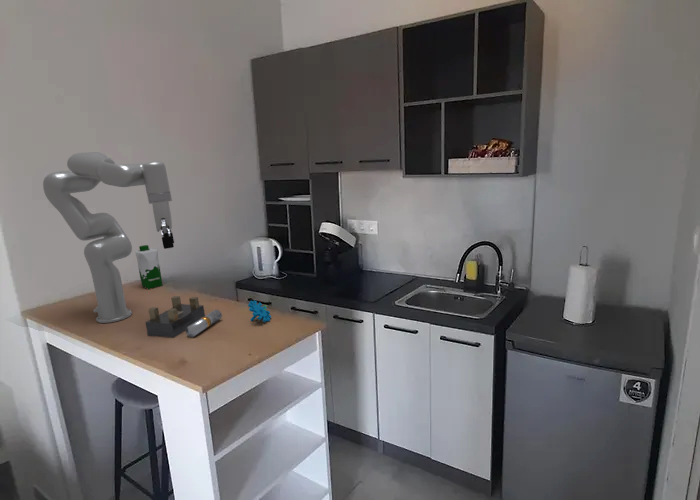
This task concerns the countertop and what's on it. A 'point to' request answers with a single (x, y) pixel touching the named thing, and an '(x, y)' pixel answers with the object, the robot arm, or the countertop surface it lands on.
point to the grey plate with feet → (174, 318)
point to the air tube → (203, 323)
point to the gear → (259, 311)
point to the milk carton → (149, 267)
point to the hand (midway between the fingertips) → (169, 245)
